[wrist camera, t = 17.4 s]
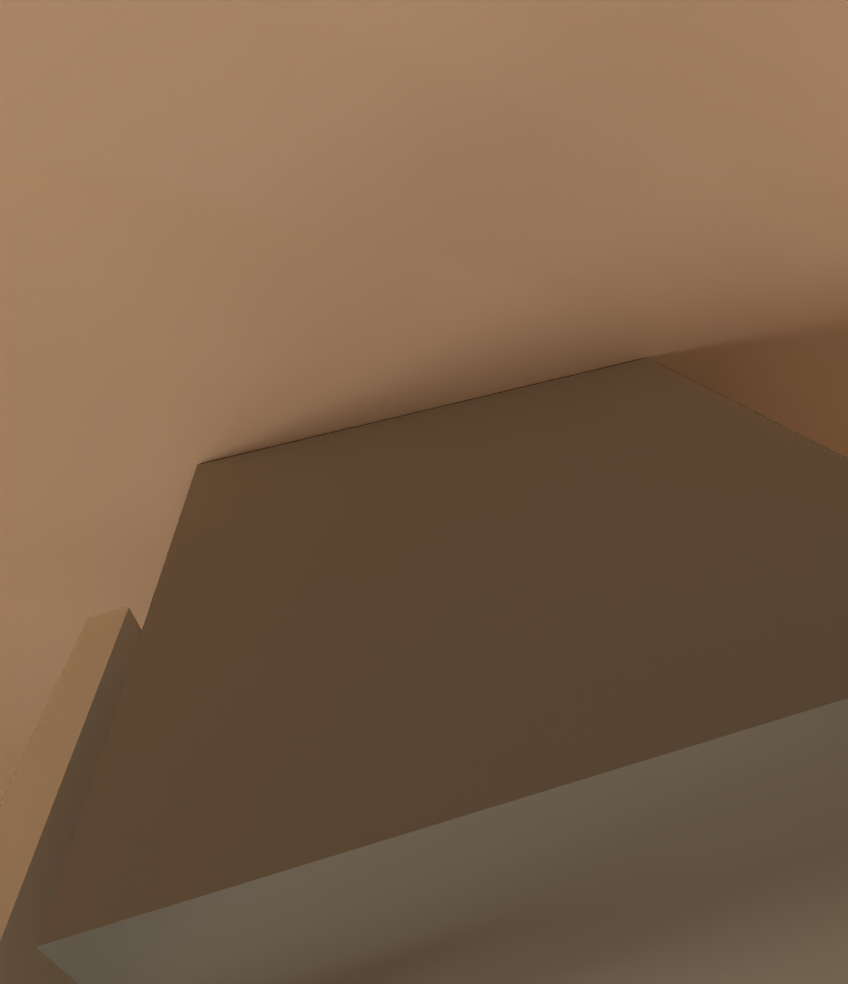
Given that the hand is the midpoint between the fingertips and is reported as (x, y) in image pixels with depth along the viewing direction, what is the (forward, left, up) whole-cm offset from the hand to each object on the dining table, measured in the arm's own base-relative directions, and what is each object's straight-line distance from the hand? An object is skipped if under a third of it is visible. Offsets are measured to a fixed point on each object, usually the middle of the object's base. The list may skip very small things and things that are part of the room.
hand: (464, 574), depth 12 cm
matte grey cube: (-2, 0, -2) cm, 3 cm away
